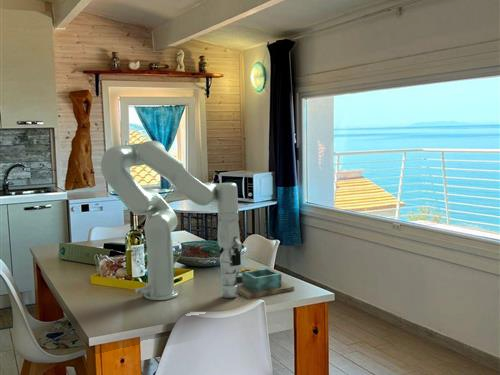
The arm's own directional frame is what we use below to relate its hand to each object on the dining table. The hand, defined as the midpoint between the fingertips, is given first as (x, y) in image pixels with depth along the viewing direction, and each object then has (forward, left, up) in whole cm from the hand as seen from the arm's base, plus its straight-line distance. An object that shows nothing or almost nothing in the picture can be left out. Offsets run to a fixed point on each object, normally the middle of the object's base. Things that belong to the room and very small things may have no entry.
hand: (230, 262), depth 201 cm
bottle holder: (+14, +2, -13) cm, 20 cm away
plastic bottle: (-1, 0, -13) cm, 13 cm away
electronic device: (+16, +19, -14) cm, 29 cm away
